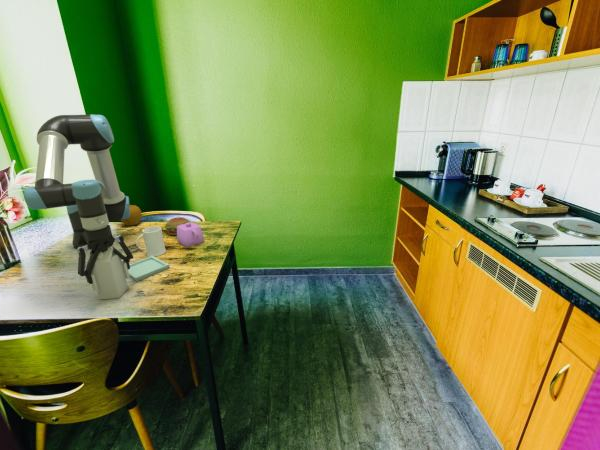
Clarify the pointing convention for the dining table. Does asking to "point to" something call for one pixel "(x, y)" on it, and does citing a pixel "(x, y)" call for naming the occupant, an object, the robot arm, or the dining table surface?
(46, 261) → the dining table surface
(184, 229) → the teapot
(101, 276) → the milk carton
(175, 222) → the food
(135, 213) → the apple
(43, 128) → the robot arm
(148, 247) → the mug
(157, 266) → the tray
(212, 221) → the dining table surface
